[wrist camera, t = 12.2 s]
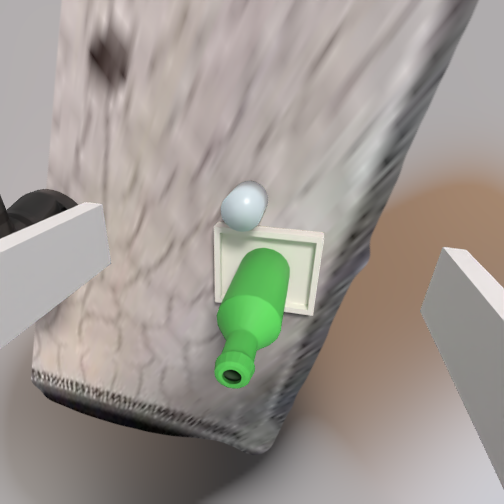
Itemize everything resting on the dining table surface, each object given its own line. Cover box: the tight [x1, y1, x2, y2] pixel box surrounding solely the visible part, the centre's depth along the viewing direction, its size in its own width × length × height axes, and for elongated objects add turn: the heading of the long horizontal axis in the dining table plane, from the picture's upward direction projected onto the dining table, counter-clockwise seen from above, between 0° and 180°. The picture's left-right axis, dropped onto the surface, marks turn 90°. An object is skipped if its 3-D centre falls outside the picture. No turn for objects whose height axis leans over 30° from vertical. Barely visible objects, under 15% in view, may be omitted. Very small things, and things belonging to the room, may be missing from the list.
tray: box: [214, 222, 324, 316], centre depth 56 cm, size 18×15×2 cm
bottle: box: [215, 248, 290, 388], centre depth 45 cm, size 9×9×25 cm
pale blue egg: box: [221, 181, 268, 232], centre depth 49 cm, size 6×6×7 cm
